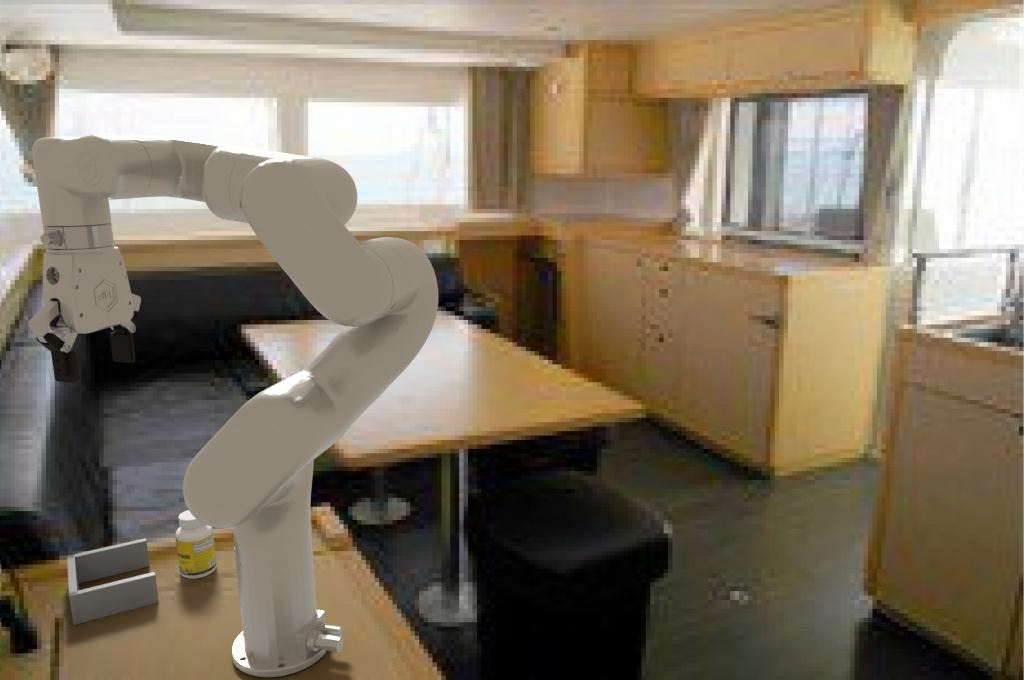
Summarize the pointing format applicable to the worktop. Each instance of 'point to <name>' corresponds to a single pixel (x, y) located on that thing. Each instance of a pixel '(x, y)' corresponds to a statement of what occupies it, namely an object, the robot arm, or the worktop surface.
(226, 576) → the worktop surface
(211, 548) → the supplement bottle
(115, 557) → the box
